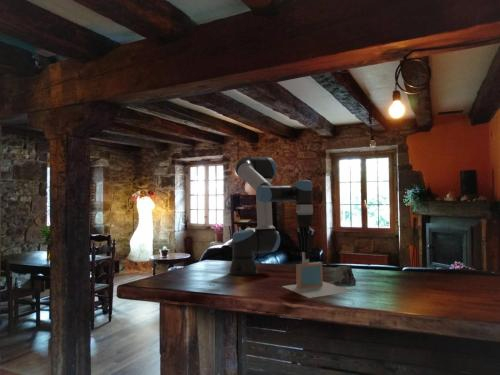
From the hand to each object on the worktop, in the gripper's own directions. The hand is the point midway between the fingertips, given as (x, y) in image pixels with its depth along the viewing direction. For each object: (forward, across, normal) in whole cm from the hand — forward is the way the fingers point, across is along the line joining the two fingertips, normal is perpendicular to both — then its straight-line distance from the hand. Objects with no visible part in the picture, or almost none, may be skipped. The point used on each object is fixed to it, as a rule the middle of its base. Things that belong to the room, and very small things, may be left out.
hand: (305, 266), depth 166 cm
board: (+10, +8, 0) cm, 12 cm away
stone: (+10, +4, +19) cm, 22 cm away
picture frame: (+9, +3, 0) cm, 9 cm away
